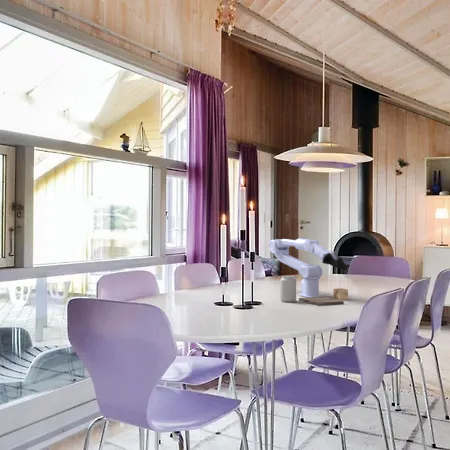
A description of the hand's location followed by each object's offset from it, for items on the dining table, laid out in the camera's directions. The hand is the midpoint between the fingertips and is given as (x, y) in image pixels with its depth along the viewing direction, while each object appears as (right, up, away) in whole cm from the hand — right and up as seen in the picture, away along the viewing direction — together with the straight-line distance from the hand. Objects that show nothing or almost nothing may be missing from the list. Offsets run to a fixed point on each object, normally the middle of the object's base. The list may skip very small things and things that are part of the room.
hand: (342, 267), depth 235 cm
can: (-25, -16, +1) cm, 30 cm away
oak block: (+1, -17, +9) cm, 19 cm away
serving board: (-10, -16, -1) cm, 19 cm away
